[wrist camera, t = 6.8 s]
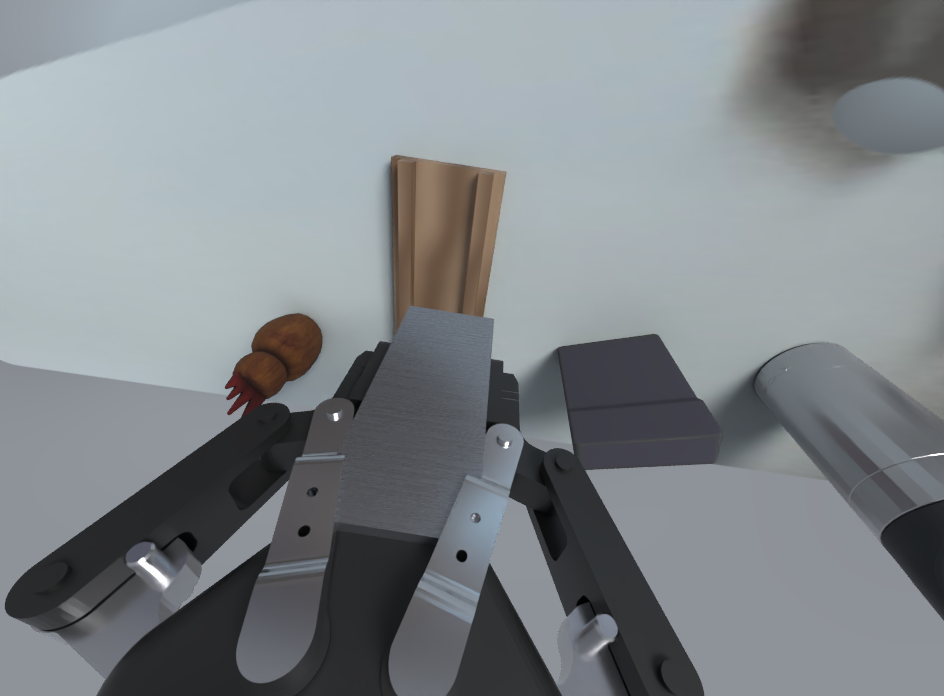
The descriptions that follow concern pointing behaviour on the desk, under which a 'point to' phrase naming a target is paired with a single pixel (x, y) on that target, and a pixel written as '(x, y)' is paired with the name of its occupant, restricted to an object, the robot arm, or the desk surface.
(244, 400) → the wooden figurine
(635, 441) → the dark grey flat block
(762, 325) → the desk surface
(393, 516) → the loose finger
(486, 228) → the rail
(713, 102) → the desk surface
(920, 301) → the desk surface
